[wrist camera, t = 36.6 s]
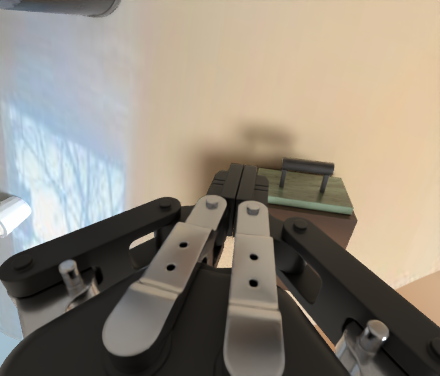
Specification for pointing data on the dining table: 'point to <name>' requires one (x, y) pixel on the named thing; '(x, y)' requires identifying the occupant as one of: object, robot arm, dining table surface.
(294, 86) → the dining table surface
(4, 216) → the white short cylinder
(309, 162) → the drawer
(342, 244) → the cabinet
